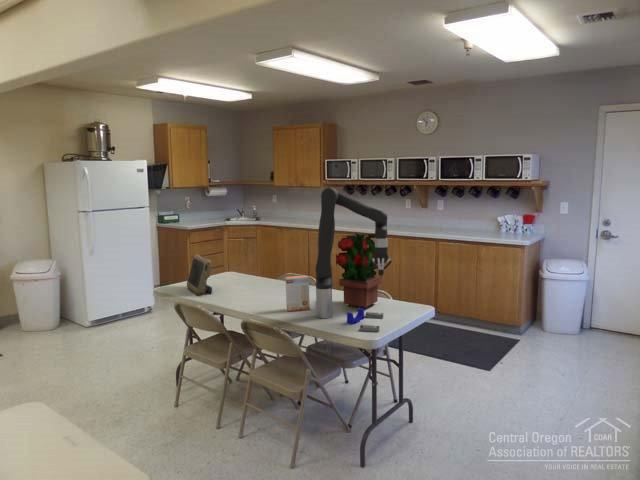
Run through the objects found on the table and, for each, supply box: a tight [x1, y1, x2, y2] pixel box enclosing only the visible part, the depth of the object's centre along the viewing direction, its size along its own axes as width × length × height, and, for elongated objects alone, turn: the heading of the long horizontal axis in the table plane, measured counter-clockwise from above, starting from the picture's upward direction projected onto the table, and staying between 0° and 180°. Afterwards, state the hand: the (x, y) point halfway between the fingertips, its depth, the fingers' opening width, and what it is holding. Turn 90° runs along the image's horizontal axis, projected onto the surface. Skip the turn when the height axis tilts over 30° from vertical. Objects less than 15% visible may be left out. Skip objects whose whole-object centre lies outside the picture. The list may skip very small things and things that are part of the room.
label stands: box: [359, 311, 384, 333], centre depth 267 cm, size 10×28×2 cm, turn 168°
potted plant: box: [335, 232, 383, 310], centre depth 300 cm, size 22×22×45 cm
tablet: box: [186, 253, 213, 296], centre depth 349 cm, size 33×14×25 cm, turn 34°
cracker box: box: [284, 275, 311, 313], centre depth 295 cm, size 14×6×21 cm, turn 100°
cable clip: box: [346, 308, 365, 325], centre depth 271 cm, size 12×4×6 cm, turn 138°
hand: (381, 275), depth 275 cm, fingers closed
